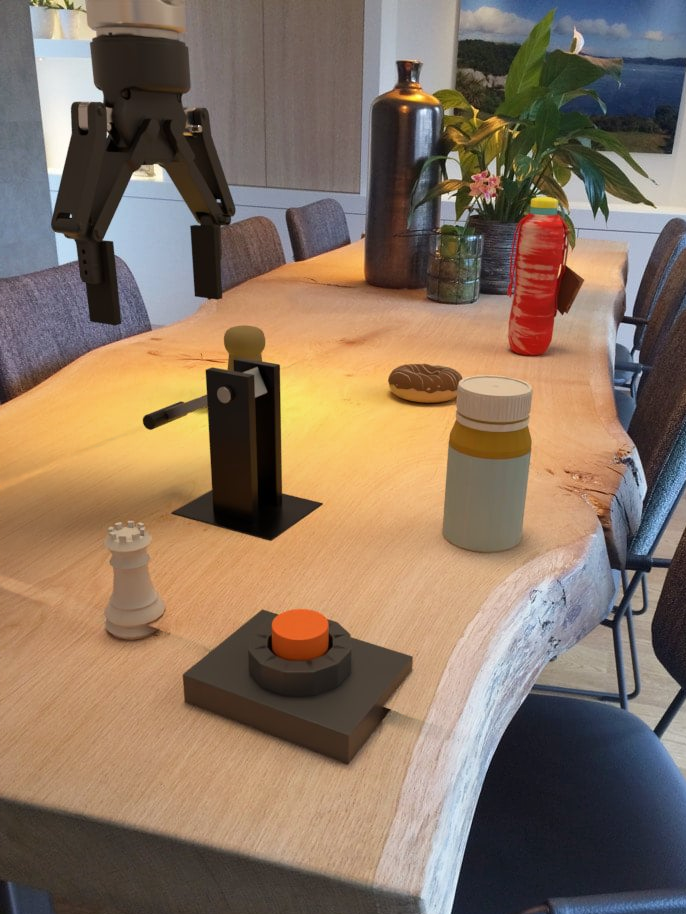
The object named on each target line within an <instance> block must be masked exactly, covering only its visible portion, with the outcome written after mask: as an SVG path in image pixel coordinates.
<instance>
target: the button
mask: <svg viewBox="0 0 686 914" xmlns="http://www.w3.org/2000/svg"><path fill="white" fill-rule="evenodd" d="M278 614H279V615H278V616H276V617H275V618H274V620H273V622H272V650H273V652H274V654H275V655H276V656H277V657H280V658H282V659H285V660H288V661H309V660H312V659H315V658H318V657H321V656H323V655H324V654H325V653H326V652H327V650H328V641H329V623H328V620H327V619H328V618H327V617H326V616H325V615H324V614H323V613H321V612H319V611H316V610H313V609H309V608H308V609H306V608H296V609H289V610H285V611H283V612H281V613H278Z"/></svg>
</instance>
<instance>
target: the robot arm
mask: <svg viewBox="0 0 686 914" xmlns="http://www.w3.org/2000/svg"><path fill="white" fill-rule="evenodd" d="M84 3H85V11H86V12H85V14H86V25H87V27H88V28H90V29H91V30H92V31H95V33H96V34H95V35H96V36H94V37H92V38H91V41H90V42H89V48H90V49H89V51H90V58H91V68H92V79H93V85H94V86H95V88H96V89H97V90H98V91H101V92H102V96H103V99H102V102H101V101H73V102H72V103H71V105H70V126H71V135H70V140H69V143H68V147H67V151H66V156H65V160H64V165H63V168H62V173H61V177H60V182H59V186H58V190H57V195H56V199H55V203H54V207H53V212H52V217H51V221H50V227H51V230H52V231H53V232H54V233H57V234H63V236H64V238H66V239H68V240H74V242H75V247H76V253H77V263H78V270H79V271H78V273H79V277H80V280H81V282H82V283H85V289H86V297H87V306H88V307H87V308H88V315H89V322H90V323H91V322H92V323H96V324H104V325H109V326H119V325H122V316H121V304H120V295H119V285H118V275H117V264H116V255H115V246H114V241H113V240H105V239H104V238H105V236H106V234H107V232H108V230H109V227H110V226H111V223H112V220H113V219H114V216H115V214H116V212H117V209H118V208H119V205H120V204H121V201H122V199H123V197H124V195H125V192H126V189H127V188H128V185H129V183H130V181H131V178H132V176H133V175H134V173H135V172H137V171H138V170H140V168H141V167H142V166H154V165H157V166H159V167H160V168H162V169H164V170H165V172H166V173H167V175H168V177H169V178H170V181H172V183H173V185H174V187H175V188H176V190H177V191H178V193H179V194H180V196H181V199H182V200H183V201H184V203H185V205H186V206H187V208H188V210H189V211H190V212H191V214H192V216H193V217H194V219H195V222H196V223H197V224H192V225H189V228H190V244H191V260H192V275H193V290H194V297H196V298H202V299H211V300H221V299H222V300H223V283H222V265H221V261H222V256H223V249H222V247H223V246H222V229H221V228H222V226H223V227H228V226H230V225H231V223H232V218H233V217H234V216H235V215H236V211H237V210H236V205H235V202H234V199H233V196H232V193H231V190H230V187H229V184H228V181H227V177H226V175H225V172H224V169H223V166H222V162H221V160H220V157H219V154H218V151H217V148H216V145H215V142H214V138H213V137H212V129H211V120H210V119H211V118H210V114H209V113H210V112H209V110H208V109H207V108H206V107H196V106H195V107H188V106H187V107H186V106H183V99H182V98H183V95H185V94H188V93H189V91H190V90H191V87H192V86H191V84H192V83H191V68H190V67H191V66H190V54H189V53H190V52H189V47H188V46H187V44H186V42H185V41H182V40H180V36H182V35H185V33H186V32H187V15H186V12H187V11H186V1H185V0H85V1H84ZM218 200H220V202H219V201H218Z"/></svg>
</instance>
